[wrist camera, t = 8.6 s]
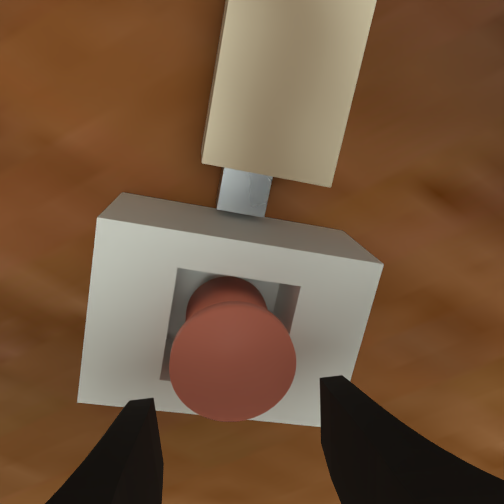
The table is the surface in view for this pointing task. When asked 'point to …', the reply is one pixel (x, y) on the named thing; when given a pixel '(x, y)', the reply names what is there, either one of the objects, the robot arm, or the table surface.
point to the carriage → (285, 86)
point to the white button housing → (202, 270)
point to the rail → (243, 192)
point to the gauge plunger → (231, 353)
